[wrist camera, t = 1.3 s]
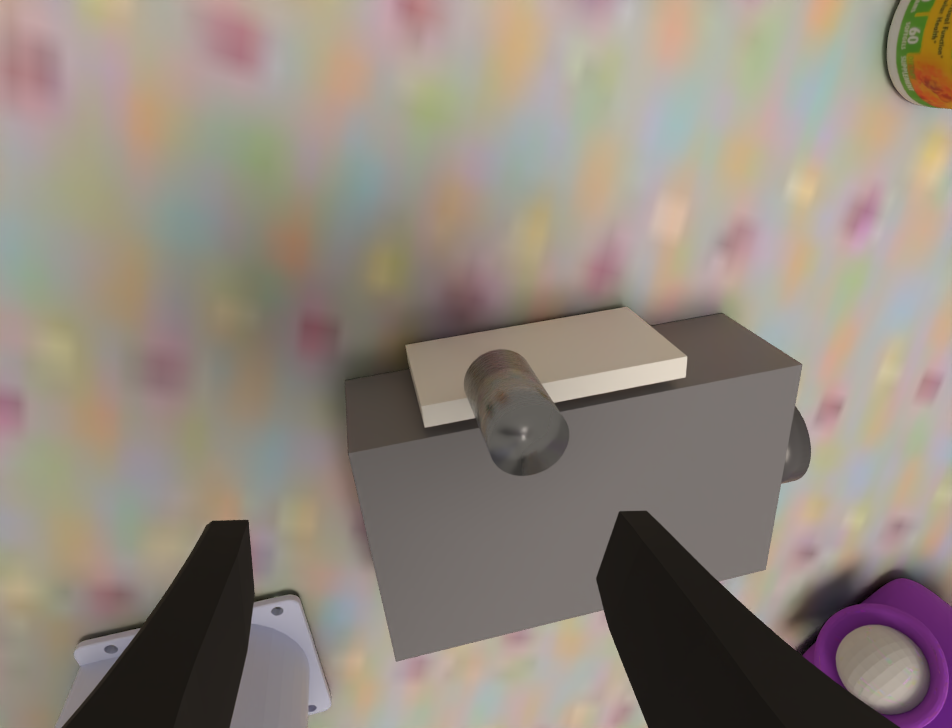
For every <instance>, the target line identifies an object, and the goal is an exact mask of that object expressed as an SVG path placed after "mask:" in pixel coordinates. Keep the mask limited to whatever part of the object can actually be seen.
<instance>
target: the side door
mask: <svg viewBox="0 0 952 728" xmlns="http://www.w3.org/2000/svg"><path fill="white" fill-rule="evenodd" d="M405 347H406V353H407V359H408V365H409V369H410V372H411V376H412V380H413V384H414V388H415V392H416V396H417V400H418V404H419V408H420V412H421V415H422V419H423V423H424V427H425V428H426V427H431V426H436V425H442V424H447V423H452V422H457V421H462V420H468V419H473V418H476V421H477V423H478V426H479V428H480V431H481V433H482V436H483V438H484V441H485V443H486V446H487V448H488V451H489V453H490V455H491V458H492V460H493V462H494V463H495V464H496V466H497V467H498V468H499V469H501V470H502V471H504V472H506V473H508V474H511V475H516V476H528V475H534V474H537V473H540V472H542V471H544V470H546V469H548V468H549V467H551V466H552V465H553V464H555V463H556V462H557V461H558V460H559V459H560V457H561V456H562V455H563V453H564V452H565V450H566V448H567V445H568V441H569V428H568V425H567V422H566V420H565V419H564V417H563V416H562V414H561V413H560V411H559V410H558V408H557V407H556V405H555V404H554V403H555V402H561V401H566V400H571V399H576V398H581V397H586V396H592V395H597V394H602V393H607V392H612V391H617V390H623V389H628V388H633V387H638V386H643V385H648V384H654V383H659V382H664V381H669V380H674V379H679V378H685V377H686V368H687V356H686V355H685V354H684V353H683V352H681V351H680V350H679V349H678V348H677V347H675V346H674V345H673V344H672V343H671V342H669V341H668V340H667V339H666V338H665V337H663V336H662V335H661V334H660V333H658V332H657V331H656V330H655V329H654V328H652V327H651V326H650V325H649V324H648V323H646V322H645V321H644V320H643V319H642V318H640V317H639V316H638V315H637V314H635V313H634V312H633V311H632V310H631V309H629V308H628V307H622V308H616V309H611V310H605V311H599V312H593V313H587V314H582V315H576V316H570V317H564V318H558V319H553V320H547V321H541V322H535V323H529V324H524V325H518V326H512V327H506V328H501V329H495V330H489V331H483V332H477V333H472V334H466V335H460V336H454V337H448V338H443V339H437V340H431V341H425V342H419V343H414V344H408V345H405Z"/></svg>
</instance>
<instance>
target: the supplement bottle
mask: <svg viewBox="0 0 952 728" xmlns="http://www.w3.org/2000/svg"><path fill="white" fill-rule="evenodd" d="M887 65H888V70H889V74H890V77H891V80H892V82H893V84H894V86H895V88H896V89H897V91H898V92H899V93H900V94H901V95H902V96H903V97H904V98H905V99H906V100H908V101H910V102H912V103H914V104H917V105H920V106H926V107H934V108H947V109H952V0H901V1H900V3H899V5H898V7H897V9H896V12H895V14H894V17H893V20H892V23H891V26H890V30H889V35H888V42H887Z"/></svg>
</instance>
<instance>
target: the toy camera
mask: <svg viewBox="0 0 952 728" xmlns="http://www.w3.org/2000/svg"><path fill="white" fill-rule="evenodd" d="M802 656H803V657H804V658H806V659H807V660H808V661H809V662H811V663H812V664H813V665H815V666H816V667H817V668H818V669H820V670H821V671H822V672H824V673H825V674H826V675H827V676H829V677H830V678H831V679H833V680H834V681H835V682H836V683H838V684H839V685H841V686H842V687H843V688H845V689H846V690H847V691H849V692H850V693H851V694H853V695H854V696H856V697H857V698H858V699H860V700H861V701H863V702H864V703H866V704H867V705H868V706H870V707H871V708H873V709H874V710H876V711H877V712H879V713H880V714H881V715H883V716H884V717H886V718H887V719H889V720H890V721H892V722H893V723H894V724H896V725H897V726H899V727H900V728H952V607H951V606H950V605H948V604H947V603H946V602H945V601H943V600H942V599H941V598H940V597H938V596H937V595H936V594H934V593H933V592H932V591H930V590H929V589H927V588H926V587H924V586H923V585H921V584H919V583H917V582H915V581H912V580H909V579H906V578H899V579H895V580H893V581H890V582H889V583H887V584H885V585H884V586H882V587H881V588H880V589H878V590H877V591H876V592H874V593H873V594H872V595H871V596H869V597H868V598H867V599H866V600H864V601H863V602H862V603H861V604H857V605H853V606H849V607H846V608H844V609H842V610H840V611H838V612H836V613H835V614H834V615H832V616H831V617H830V618H829V619H828V620H827V622H826V623H825V624H824V626H823V627H822V629H821V631H820V633H819V635H818V637H817V641H816V642H815V643H814V644H813V645H812V646H811V647H810V648H809V649H808V650H807V651H806V652H805V653H804V654H803V655H802Z"/></svg>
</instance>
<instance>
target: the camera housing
mask: <svg viewBox="0 0 952 728" xmlns="http://www.w3.org/2000/svg"><path fill="white" fill-rule="evenodd" d="M651 327H652V328H654V329H655V330H656V331H657V332H658V333H660V334H661V335H662V336H663V337H665V338H666V339H667V340H668V341H669V342H671V343H672V344H673V345H674V346H675V347H677V348H678V349H679V350H680V351H681V352H683V353H684V354H685V355H686V356H687V368H686V377H685V378H679V379H674V380H669V381H664V382H659V383H654V384H648V385H643V386H638V387H633V388H628V389H623V390H617V391H612V392H607V393H602V394H597V395H592V396H586V397H581V398H576V399H571V400H566V401H561V402H555V403H554V404H555V405H556V407H557V408H558V410H559V411H560V413H561V414H562V416H563V417H564V419H565V420H566V422H567V425H568V428H569V441H568V445H567V448H566V450H565V452H564V453H563V455H562V456H561V457H560V459H559V460H558V461H557V462H556V463H555V464H553V465H552V466H551V467H549V468H548V469H546V470H544V471H542V472H540V473H537V474H534V475H528V476H516V475H511V474H508V473H506V472H504V471H502V470H501V469H499V468H498V467H497V466H496V464H495V463H494V462H493V460H492V458H491V455H490V453H489V451H488V448H487V446H486V443H485V441H484V438H483V436H482V433H481V431H480V428H479V426H478V423H477V421H476V418H473V419H468V420H462V421H457V422H452V423H447V424H442V425H436V426H431V427H426V428H425V427H424V423H423V419H422V415H421V412H420V408H419V404H418V400H417V396H416V392H415V388H414V384H413V380H412V376H411V372H410V369H407V370H401V371H396V372H390V373H385V374H379V375H373V376H368V377H362V378H357V379H351V380H345V393H346V416H347V439H348V455H349V459H350V464H351V468H352V472H353V477H354V481H355V485H356V490H357V494H358V498H359V503H360V507H361V512H362V516H363V520H364V525H365V529H366V533H367V538H368V542H369V546H370V551H371V555H372V559H373V564H374V568H375V572H376V577H377V581H378V585H379V590H380V594H381V598H382V603H383V607H384V611H385V616H386V620H387V625H388V629H389V633H390V638H391V642H392V646H393V651H394V655H395V659H396V661H400V660H404V659H408V658H412V657H416V656H420V655H424V654H429V653H433V652H437V651H441V650H445V649H449V648H453V647H457V646H461V645H465V644H469V643H473V642H477V641H481V640H485V639H489V638H493V637H497V636H501V635H505V634H509V633H513V632H517V631H521V630H525V629H529V628H533V627H537V626H541V625H545V624H549V623H553V622H557V621H561V620H565V619H569V618H573V617H577V616H581V615H585V614H589V613H593V612H598V611H602V610H604V609H603V605H602V601H601V597H600V593H599V589H598V585H597V581H596V577H597V574H598V571H599V568H600V565H601V562H602V559H603V556H604V553H605V551H606V548H607V545H608V542H609V539H610V536H611V533H612V530H613V528H614V525H615V522H616V519H617V516H618V513H619V511H648V512H649V513H650V514H651V515H652V516H653V517H654V518H655V519H656V520H657V521H658V522H659V523H660V524H661V525H662V526H663V527H664V528H665V529H666V530H667V531H668V532H669V533H670V534H671V535H672V536H673V537H674V538H675V539H676V540H677V541H678V542H679V543H680V544H681V545H682V546H683V547H684V548H685V549H686V550H687V551H688V552H689V553H690V554H691V555H692V556H693V557H694V558H695V559H696V560H697V561H698V562H699V563H700V564H701V565H702V566H703V567H704V568H705V569H706V570H707V571H708V572H709V573H710V574H711V575H712V576H713V577H714V578H715V579H716V580H717V581H722V580H726V579H730V578H734V577H738V576H742V575H746V574H750V573H754V572H758V571H763V570H766V565H767V559H768V554H769V548H770V543H771V537H772V531H773V526H774V520H775V515H776V509H777V503H778V498H779V492H780V487H781V484H782V483H787V482H791V481H795V480H798V479H800V478H801V477H802V476H803V475H804V474H805V473H806V471H807V469H808V467H809V463H810V457H811V445H810V438H809V434H808V430H807V427H806V424H805V422H804V420H803V418H802V416H801V414H800V412H799V411H798V409H797V408H796V406H795V403H796V397H797V392H798V386H799V381H800V375H801V370H802V364H801V363H799V362H798V361H796V360H795V359H793V358H792V357H790V356H788V355H787V354H785V353H784V352H782V351H781V350H779V349H778V348H776V347H774V346H773V345H771V344H770V343H768V342H767V341H765V340H764V339H762V338H760V337H759V336H757V335H756V334H754V333H753V332H751V331H750V330H748V329H746V328H745V327H743V326H742V325H740V324H739V323H737V322H736V321H734V320H732V319H731V318H729V317H728V316H726V315H725V314H723V313H721V314H715V315H710V316H704V317H698V318H693V319H687V320H682V321H676V322H670V323H665V324H659V325H654V326H651Z"/></svg>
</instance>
